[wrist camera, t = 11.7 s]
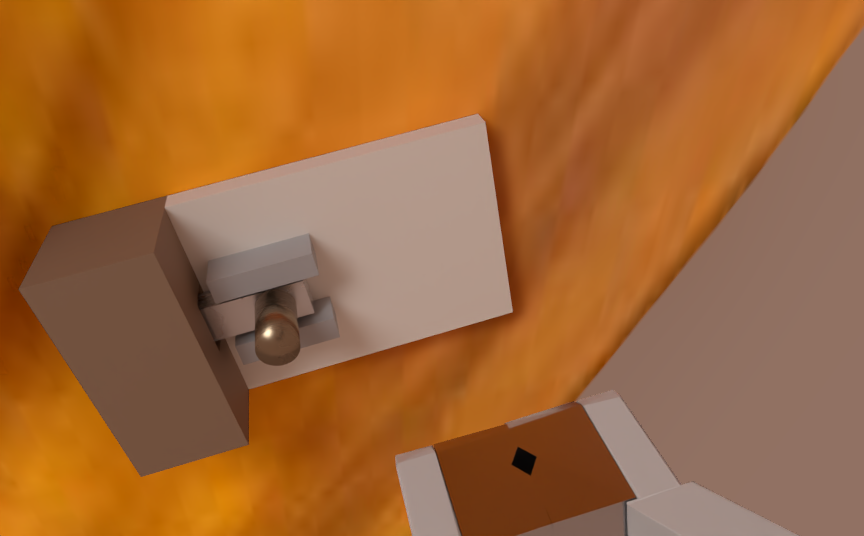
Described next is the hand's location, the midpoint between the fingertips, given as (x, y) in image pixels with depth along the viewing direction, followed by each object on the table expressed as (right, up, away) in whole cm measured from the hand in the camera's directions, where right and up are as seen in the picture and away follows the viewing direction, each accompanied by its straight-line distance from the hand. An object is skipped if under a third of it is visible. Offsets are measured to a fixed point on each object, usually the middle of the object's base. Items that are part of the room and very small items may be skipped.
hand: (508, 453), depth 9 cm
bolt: (-14, 0, +32) cm, 35 cm away
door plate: (-9, +3, +34) cm, 35 cm away
